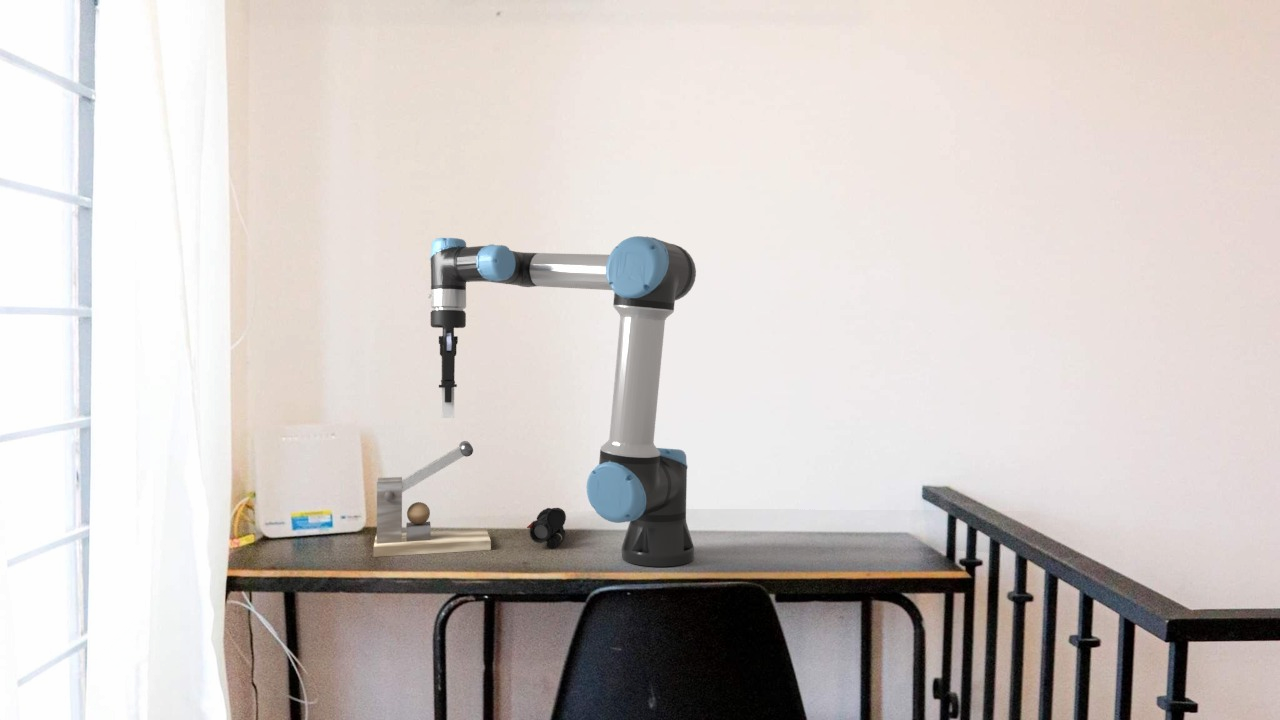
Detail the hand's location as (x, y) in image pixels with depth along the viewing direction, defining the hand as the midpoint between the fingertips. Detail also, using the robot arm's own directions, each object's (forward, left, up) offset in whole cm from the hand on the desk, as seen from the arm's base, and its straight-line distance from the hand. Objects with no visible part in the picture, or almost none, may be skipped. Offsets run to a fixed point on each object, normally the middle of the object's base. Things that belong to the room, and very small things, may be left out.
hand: (447, 417), depth 176 cm
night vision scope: (-2, -22, -29) cm, 36 cm away
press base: (0, +3, -28) cm, 28 cm away
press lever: (0, +3, -13) cm, 13 cm away
